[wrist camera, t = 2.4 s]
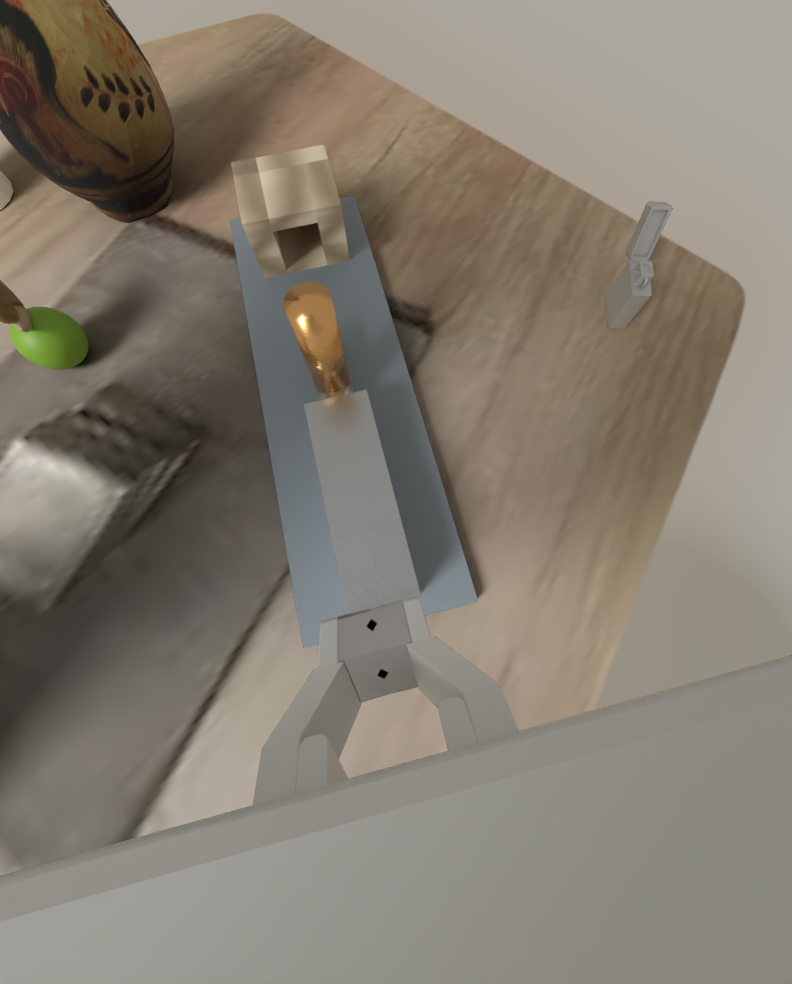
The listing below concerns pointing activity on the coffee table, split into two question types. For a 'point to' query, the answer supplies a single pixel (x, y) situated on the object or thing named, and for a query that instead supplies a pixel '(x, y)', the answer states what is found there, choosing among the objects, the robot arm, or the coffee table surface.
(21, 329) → the snail figurine
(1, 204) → the white cup
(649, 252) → the lighter
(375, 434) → the grey sleeve
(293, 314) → the bolt with orange handle
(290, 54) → the coffee table surface
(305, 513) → the slate board
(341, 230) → the birch socket
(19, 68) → the ceramic jug
